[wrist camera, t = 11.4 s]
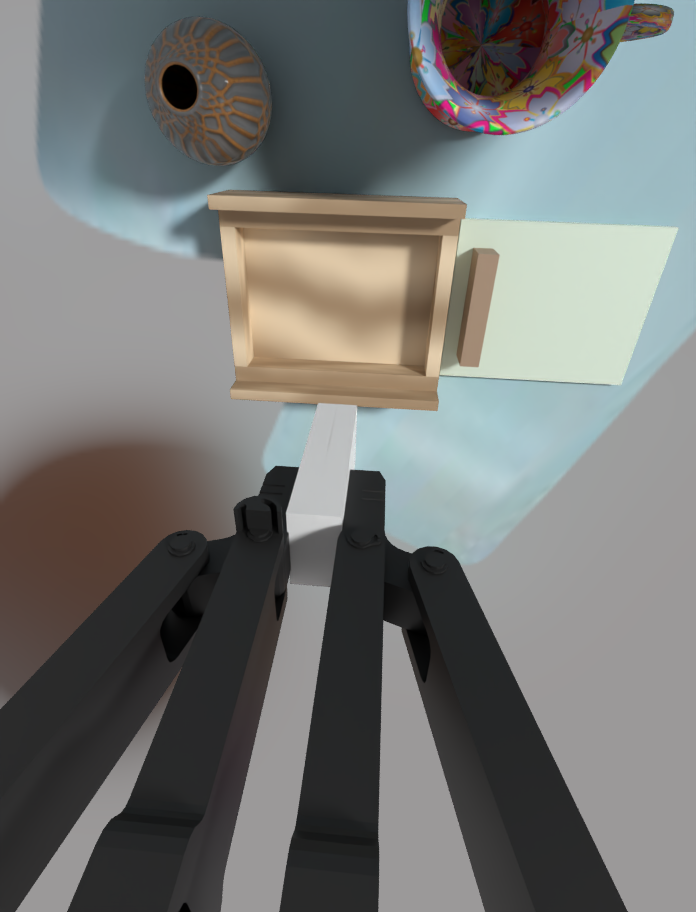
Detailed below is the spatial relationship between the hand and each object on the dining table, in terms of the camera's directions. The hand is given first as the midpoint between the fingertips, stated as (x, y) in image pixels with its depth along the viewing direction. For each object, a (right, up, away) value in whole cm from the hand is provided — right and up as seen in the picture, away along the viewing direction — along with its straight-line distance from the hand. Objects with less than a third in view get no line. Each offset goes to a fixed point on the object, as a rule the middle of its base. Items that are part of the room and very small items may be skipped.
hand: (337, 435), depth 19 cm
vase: (-7, +22, +13) cm, 27 cm away
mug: (+10, +24, +10) cm, 28 cm away
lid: (+15, +11, +18) cm, 26 cm away
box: (0, +12, +18) cm, 22 cm away
